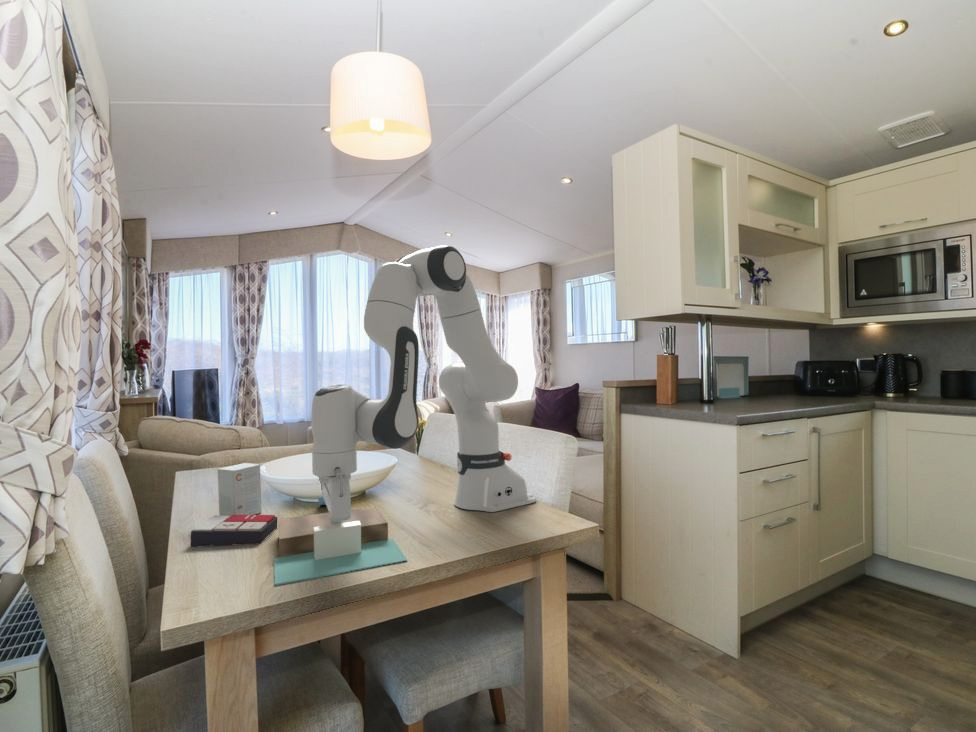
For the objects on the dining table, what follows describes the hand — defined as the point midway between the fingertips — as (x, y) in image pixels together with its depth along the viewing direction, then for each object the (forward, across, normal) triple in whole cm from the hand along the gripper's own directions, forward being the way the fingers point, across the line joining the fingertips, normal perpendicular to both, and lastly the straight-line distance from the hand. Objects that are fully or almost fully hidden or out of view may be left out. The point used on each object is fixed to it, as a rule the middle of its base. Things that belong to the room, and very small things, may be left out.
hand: (336, 530), depth 103 cm
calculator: (+5, +21, +20) cm, 29 cm away
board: (+5, +9, 0) cm, 10 cm away
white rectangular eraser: (+1, -2, 0) cm, 3 cm away
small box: (+5, +38, +20) cm, 43 cm away
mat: (+5, -5, 0) cm, 7 cm away
